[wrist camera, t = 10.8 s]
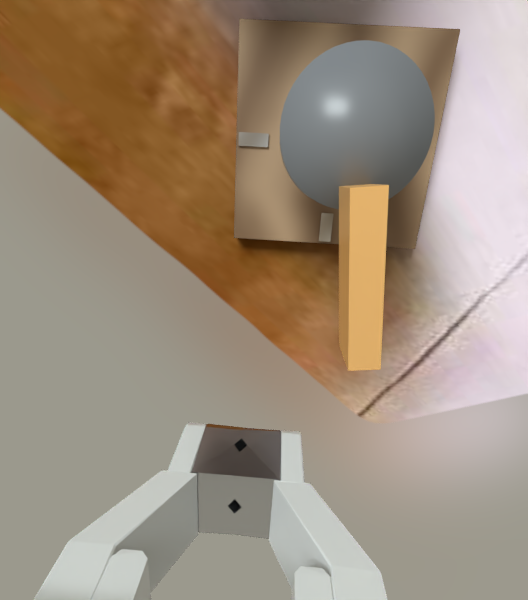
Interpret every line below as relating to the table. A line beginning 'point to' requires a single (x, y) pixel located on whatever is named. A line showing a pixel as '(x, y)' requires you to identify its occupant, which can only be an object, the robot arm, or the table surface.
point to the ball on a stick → (358, 166)
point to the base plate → (267, 116)
